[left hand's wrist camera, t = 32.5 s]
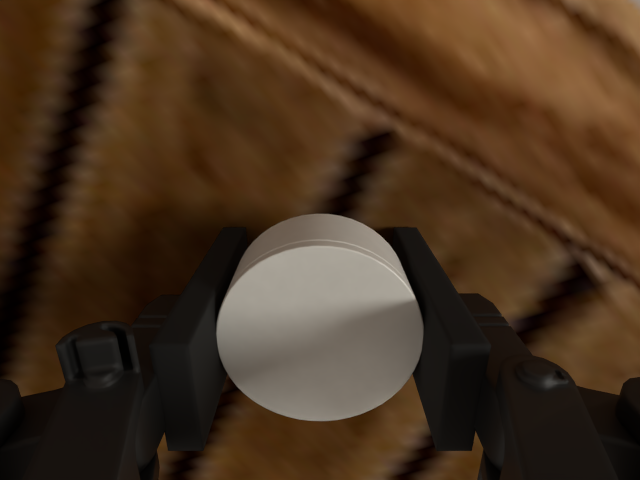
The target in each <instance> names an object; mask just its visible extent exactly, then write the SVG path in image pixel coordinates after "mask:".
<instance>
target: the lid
mask: <svg viewBox="0 0 640 480" xmlns="http://www.w3.org/2000/svg"><path fill="white" fill-rule="evenodd" d="M423 335H424V324H423V318H422V313H421V310H420V308H419V305H418V302H417V300H416V297H415V295H414V293H413V290H412V288H411V286H410V283H409V281H408V279H407V276H406V274H405V272H404V269H403V267H402V265H401V262H400V261H399V259H398V257H397V255H396V253H395V252H394V250H393V249H392V248H391V246H390V245H389V244H388V243H387V242H386V241H385V240H384V239H383V237H382V236H380V235H379V234H378V233H376V232H375V231H374V230H373V229H371V228H369V227H367V226H366V225H364V224H362V223H360V222H357V221H355V220H353V219H350V218H346V217H342V216H338V215H331V214H310V215H302V216H298V217H294V218H290V219H288V220H285V221H282V222H280V223H278V224H276V225H274V226H272V227H270V228H269V229H268V230H266V231H265V232H263V233H262V234H261V235H260V236H259V237H258V238H257V239H255V240H254V241H253V242H252V244H251V245H250V246H249V247H248V249H247V250H246V251H245V253H244V255H243V257H242V258H241V260H240V262H239V265H238V267H237V269H236V272H235V274H234V276H233V279H232V281H231V283H230V286H229V288H228V290H227V293H226V295H225V297H224V300H223V302H222V305H221V307H220V310H219V313H218V318H217V323H216V337H217V346H218V352H219V356H220V359H221V361H222V364H223V366H224V368H225V370H226V372H227V373H228V375H229V377H230V378H231V379H232V381H233V382H234V383H235V384H236V386H237V387H238V388H239V389H240V390H241V391H242V392H243V393H244V394H245V395H247V396H248V397H249V398H251V399H252V400H253V401H254V402H256V403H258V404H259V405H261V406H263V407H264V408H266V409H269V410H271V411H273V412H275V413H278V414H281V415H284V416H287V417H291V418H296V419H301V420H309V421H330V420H339V419H344V418H349V417H353V416H356V415H359V414H362V413H364V412H367V411H369V410H372V409H373V408H375V407H377V406H379V405H381V404H382V403H384V402H385V401H387V400H388V399H389V398H391V397H392V396H393V395H394V394H395V393H397V392H398V391H399V390H400V389H401V388H402V387H403V385H404V384H405V383H406V382H407V381H408V379H409V378H410V376H411V375H412V373H413V372H414V370H415V368H416V366H417V363H418V361H419V359H420V355H421V352H422V344H423Z"/></svg>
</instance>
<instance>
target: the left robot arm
mask: <svg viewBox="0 0 640 480" xmlns="http://www.w3.org/2000/svg"><path fill="white" fill-rule="evenodd" d="M246 250H247V238H246V228H223V229H222V231H221V232H220V234H219V235H218V237H217V239H216V240H215V242H214V243H213V245H212V246H211V248H210V250H209V251H208V253H207V254H206V256H205V257H204V259H203V261H202V262H201V264H200V265H199V267H198V268H197V270H196V272H195V273H194V275H193V276H192V278H191V280H190V281H189V283H188V284H187V286H186V287H185V289H184V291H183V292H182V294H181V295H161V296H159V297H158V298H156V299H155V300H153V301H152V302H150V303H149V304H147V305H146V307H145V308H144V309H143V311H142V312H141V313H140V315H139V318H137V319H136V320H135V321H134V323H133V324H132V327H130V326H129V325H128V324H127V323H123V322H119V321H102V322H97V323H93V324H88V325H86V326H83V327H81V328H78V329H76V330H74V331H72V332H70V333H69V334H67V335H66V336H64V337H63V338H62V339H61V340H60V341H59V342H58V343H57V344H56V350H57V353H58V357H59V360H60V364H61V367H62V371H63V374H64V378H65V381H66V383H65V385H64V387H63V388H60V389H57V390H52V391H48V392H43V393H38V394H34V395H29V396H24V397H21V395H20V392H19V389H18V386H17V385H16V384H15V383H13V382H12V381H11V380H5V379H0V480H158V477H159V468H160V467H159V460H158V454H157V448H158V446H159V444H160V441H161V439H162V437H163V434H164V432H165V436H166V441H167V447H168V451H203V450H204V447H205V444H206V440H207V437H208V434H209V431H210V428H211V424H212V421H213V418H214V415H215V411H216V408H217V405H218V402H219V399H220V395H221V392H222V389H223V386H224V383H225V379H226V376H227V372H226V370H225V368H224V366H223V364H222V361H221V359H220V356H219V352H218V346H217V337H216V323H217V318H218V313H219V310H220V307H221V305H222V302H223V300H224V297H225V295H226V293H227V290H228V288H229V286H230V283H231V281H232V279H233V276H234V274H235V272H236V269H237V267H238V265H239V262H240V260H241V258H242V257H243V255H244V253H245V251H246ZM393 250H394V252H395V253H396V255H397V257H398V259H399V261H400V262H401V265H402V267H403V269H404V272H405V274H406V276H407V279H408V281H409V283H410V286H411V288H412V290H413V293H414V295H415V297H416V300H417V302H418V305H419V308H420V310H421V313H422V318H423V324H424V335H423V344H422V352H421V355H420V359H419V361H418V363H417V366H416V368H415V370H414V372H413V377H414V380H415V383H416V386H417V389H418V393H419V396H420V399H421V402H422V405H423V409H424V412H425V415H426V418H427V421H428V425H429V428H430V431H431V434H432V438H433V441H434V444H435V447H436V450H437V451H472V446H473V441H474V436H475V430H476V433H477V435H478V437H479V439H480V442H481V444H482V446H483V448H484V449H483V454H482V459H481V464H480V469H479V474H478V479H477V480H640V377H637V378H630V379H628V380H627V381H626V382H625V383H623V386H622V389H621V392H620V395H615V394H610V393H606V392H601V391H596V390H591V389H587V388H583V387H579V386H576V384H575V382H574V380H573V379H572V378H571V376H570V375H569V374H568V372H566V371H565V370H564V369H562V368H561V367H560V366H558V365H557V364H555V363H553V362H550V361H548V360H546V359H544V358H540V357H536V356H533V355H532V354H531V353H530V351H529V350H528V349H527V347H526V346H525V345H524V343H523V342H522V341H521V339H520V338H519V337H518V336H517V334H516V333H515V332H514V330H513V329H512V328H511V326H509V324H508V322H507V321H506V320H505V318H504V317H502V316H501V315H502V314H501V313H500V312H499V311H498V309H497V308H496V307H495V305H494V304H493V303H492V302H490V301H489V300H487V299H486V298H484V297H483V296H481V295H480V294H458V292H457V291H456V289H455V288H454V286H453V285H452V283H451V281H450V280H449V278H448V277H447V275H446V273H445V272H444V270H443V269H442V267H441V266H440V264H439V262H438V261H437V259H436V258H435V256H434V255H433V253H432V251H431V250H430V248H429V247H428V245H427V244H426V242H425V240H424V239H423V237H422V236H421V234H420V233H419V231H418V229H417V228H394V235H393Z"/></svg>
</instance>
